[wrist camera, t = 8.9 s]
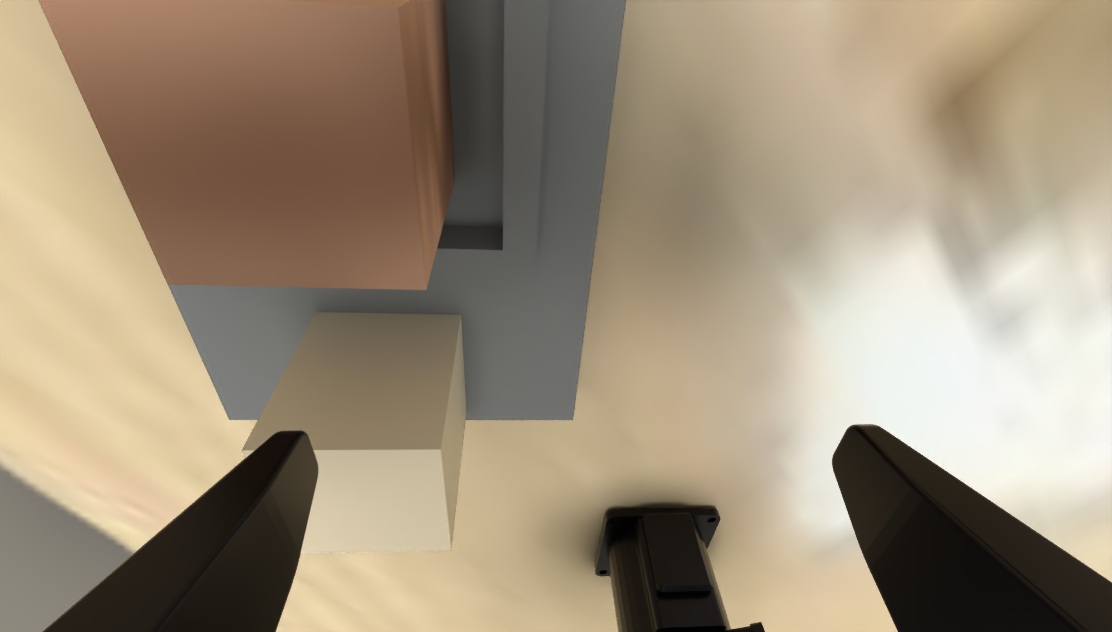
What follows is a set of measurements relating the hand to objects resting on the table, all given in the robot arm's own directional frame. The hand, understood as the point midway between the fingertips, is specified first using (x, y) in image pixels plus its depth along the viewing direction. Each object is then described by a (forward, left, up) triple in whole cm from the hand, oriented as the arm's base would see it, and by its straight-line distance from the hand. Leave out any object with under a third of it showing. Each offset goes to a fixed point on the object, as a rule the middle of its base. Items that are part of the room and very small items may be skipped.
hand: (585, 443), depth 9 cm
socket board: (-1, +6, -11) cm, 12 cm away
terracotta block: (+3, +6, -9) cm, 11 cm away
